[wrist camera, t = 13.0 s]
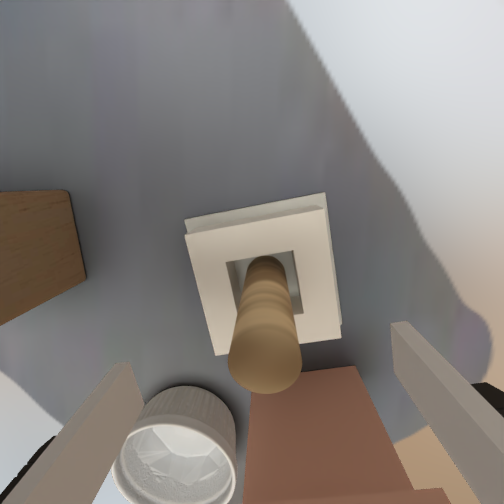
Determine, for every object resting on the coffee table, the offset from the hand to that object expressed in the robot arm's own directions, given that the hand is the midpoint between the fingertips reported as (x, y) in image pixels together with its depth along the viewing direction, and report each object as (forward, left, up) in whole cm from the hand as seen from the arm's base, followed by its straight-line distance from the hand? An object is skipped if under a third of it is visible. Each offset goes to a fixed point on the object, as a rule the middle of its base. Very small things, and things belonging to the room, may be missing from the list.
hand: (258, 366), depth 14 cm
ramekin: (+18, -13, -16) cm, 28 cm away
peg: (0, 0, -15) cm, 15 cm away
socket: (0, 0, -16) cm, 16 cm away
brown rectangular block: (+12, +2, -16) cm, 20 cm away
